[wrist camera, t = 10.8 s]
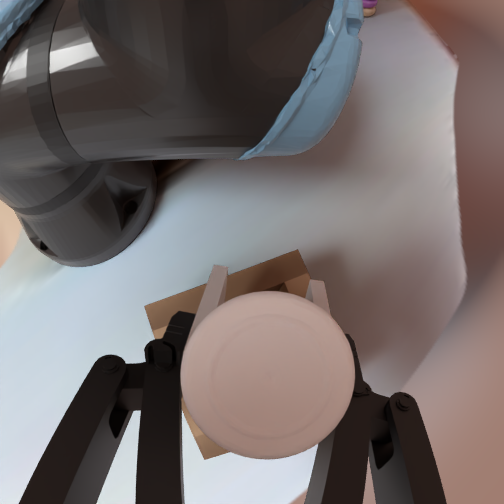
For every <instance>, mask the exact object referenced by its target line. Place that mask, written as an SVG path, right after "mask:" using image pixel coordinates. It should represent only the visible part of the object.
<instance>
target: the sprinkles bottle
mask: <svg viewBox="0 0 504 504" xmlns="http://www.w3.org/2000/svg"><path fill="white" fill-rule="evenodd" d="M180 375H181V388H182V395H183V398H184V401H185V404H186V407H187V409H188V411H189V413H190V415H191V417H192V419H193V420H194V422H195V423H196V424H197V426H198V427H199V428H200V430H201V431H202V432H203V433H204V434H205V435H206V436H207V437H208V438H209V439H211V440H212V441H213V442H215V443H216V444H217V445H219V446H221V447H222V448H224V449H226V450H228V451H230V452H232V453H235V454H237V455H241V456H244V457H249V458H255V459H279V458H284V457H289V456H292V455H296V454H298V453H301V452H304V451H306V450H307V449H310V448H311V447H313V446H315V445H316V444H318V443H319V442H321V441H322V440H323V439H324V438H326V437H327V436H328V435H329V434H330V433H331V432H332V431H333V430H334V428H335V427H336V426H337V425H338V423H339V422H340V420H341V419H342V418H343V416H344V414H345V412H346V410H347V408H348V406H349V404H350V400H351V398H352V394H353V390H354V382H355V366H354V359H353V354H352V351H351V347H350V344H349V342H348V340H347V338H346V336H345V334H344V333H343V331H342V329H341V328H340V327H339V325H338V324H337V323H336V321H335V320H334V319H333V318H332V317H331V316H330V315H329V314H328V313H327V312H326V311H325V310H323V309H322V308H321V307H319V306H318V305H316V304H314V303H313V302H311V301H309V300H307V299H305V298H303V297H300V296H297V295H294V294H290V293H285V292H279V291H260V292H253V293H248V294H245V295H240V296H238V297H235V298H233V299H230V300H228V301H227V302H225V303H223V304H222V305H220V306H218V307H217V308H216V309H214V310H213V311H212V312H210V313H209V314H208V315H207V316H206V317H205V318H204V319H203V320H202V321H201V322H200V324H199V325H198V326H197V327H196V329H195V330H194V332H193V333H192V335H191V337H190V339H189V341H188V343H187V345H186V348H185V351H184V355H183V358H182V364H181V373H180Z"/></svg>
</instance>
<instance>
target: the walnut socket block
mask: <svg viewBox="0 0 504 504" xmlns="http://www.w3.org/2000/svg"><path fill="white" fill-rule="evenodd" d="M310 279H311V278H310V275H309V273H308V271H307V269H306V266H305V264H304V262H303V260H302V258H301V255H300V253H299V251H298V249H297V250H295V251H292V252H289V253H287V254H284V255H282V256H279V257H276V258H274V259H271V260H268V261H266V262H263V263H260V264H258V265H255V266H252V267H250V268H247V269H244V270H241V271H239V272H236V273H233V274H231V275H228V276H227V284H226V293H225V302H227V301H228V300H230V299H233V298H235V297H238V296H240V295H245V294H248V293H253V292H260V291H279V292H285V293H290V294H294V295H297V296H300V297H303V298H305V297H306V293H307V289H308V285H309V282H310ZM206 285H207V283H206V284H204V285H201V286H198V287H195V288H193V289H190V290H187V291H184V292H182V293H179V294H176V295H173V296H171V297H168V298H165V299H162V300H160V301H157V302H154V303H151V304H149V305H146V306H144V307H145V310H146V313H147V316H148V319H149V322H150V325H151V328H152V331H153V334H154V337H155V339H161V338H163V335H164V333H165V332H166V328H167V326H168V324H169V322H170V319H171V317H172V316H173V315H174V314H176V313H177V312H178V311H183V312H189V313H194V314H196V313H197V311H198V308H199V305H200V302H201V299H202V297H203V294H204V291H205V288H206ZM181 401H182V411H183V413H184V416H185V418H186V420H187V423H188V425H189V427H190V429H191V432H192V434H193V436H194V438H195V440H196V443H197V445H198V447H199V449H200V451H201V453H202V455H203V458H204V460H206V459H209V458H212V457H216V456H219V455H222V454H225V453H228V452H230V451H228V450H226V449H224V448H222V447H221V446H219V445H217V444H216V443H215V442H213V441H212V440H211V439H209V438H208V437H207V436H206V435H205V434H204V433H203V432H202V431H201V430H200V428H199V427H198V426H197V424H196V423H195V422H194V420H193V419H192V417H191V415H190V413H189V411H188V409H187V407H186V404H185V401H184V398H183V395H182V399H181Z"/></svg>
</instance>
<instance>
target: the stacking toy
mask: <svg viewBox="0 0 504 504" xmlns="http://www.w3.org/2000/svg"><path fill="white" fill-rule="evenodd" d="M362 2H363V11H364V16H371V15H373V14H374V13H375V11H376V8H375V6H376V4H377V0H362Z"/></svg>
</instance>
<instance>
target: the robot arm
mask: <svg viewBox="0 0 504 504" xmlns="http://www.w3.org/2000/svg"><path fill="white" fill-rule="evenodd" d="M363 22H364V11H363V2H362V0H0V200H2V201H3V202H4V203H6V204H7V205H8V206H9V207H11V208H12V209H13V210H14V211H15V213H16V215H17V217H18V219H19V221H20V223H21V225H22V226H23V228H24V230H25V232H26V234H27V236H28V237H29V239H30V241H31V242H32V243H33V245H34V246H35V247H36V248H37V249H38V250H39V251H40V252H41V253H43V254H44V255H46V256H47V257H49V258H51V259H52V260H54V261H56V262H58V263H60V264H63V265H66V266H71V267H86V266H92V265H95V264H98V263H101V262H104V261H106V260H108V259H110V258H112V257H113V256H115V255H117V254H118V253H119V252H121V251H122V250H123V249H125V248H126V247H127V246H128V245H129V244H130V243H131V242H132V241H133V240H134V239H135V238H136V237H137V235H138V234H139V233H140V231H141V230H142V229H143V227H144V225H145V224H146V222H147V220H148V218H149V216H150V214H151V211H152V209H153V206H154V202H155V198H156V191H157V179H156V173H155V169H154V166H153V164H152V161H151V160H160V159H233V160H247V159H250V158H252V157H260V156H290V155H296V154H299V153H303V152H305V151H307V150H309V149H311V148H312V147H313V146H315V145H316V144H318V143H319V142H320V141H321V140H322V139H323V138H324V137H325V136H326V135H327V133H328V132H329V131H330V130H331V128H332V127H333V125H334V124H335V122H336V120H337V119H338V117H339V115H340V113H341V111H342V109H343V107H344V105H345V103H346V101H347V99H348V96H349V93H350V91H351V88H352V85H353V83H354V79H355V76H356V73H357V69H358V65H359V60H360V55H361V49H362V42H361V40H360V39H359V38H358V36H357V35H358V33H359V30H360V28H361V26H362V24H363ZM227 274H228V267H225V266H219V265H214V266H213V269H212V272H211V274H210V277H209V280H208V283H207V285H206V288H205V291H204V294H203V297H202V299H201V302H200V305H199V308H198V311H197V313H196V314H194V313H189V312H183V311H178V312H177V313H176V314H174V315H173V316H172V317H171V319H170V322H169V324H168V326H167V328H166V332H165V333H164V335H163V338H161V339H155V340H152V341H150V342H149V343H148V344H147V345H146V347H145V349H144V351H145V359H146V362H143V363H137V364H126V363H125V361H124V360H123V359H122V358H121V357H119V356H117V355H105V356H102V357H100V358H99V359H98V360H97V361H96V362H95V363H94V365H93V367H92V368H91V370H90V372H89V373H88V375H87V377H86V378H85V380H84V382H83V383H82V385H81V387H80V388H79V390H78V392H77V394H76V395H75V397H74V399H73V400H72V402H71V404H70V406H69V407H68V409H67V411H66V413H65V415H64V416H63V418H62V420H61V422H60V424H59V425H58V427H57V429H56V431H55V433H54V435H53V436H52V438H51V440H50V442H49V444H48V446H47V448H46V450H45V451H44V453H43V455H42V457H41V459H40V461H39V463H38V465H37V467H36V469H35V471H34V473H33V475H32V477H31V479H30V481H29V483H28V485H27V487H26V490H25V492H24V494H23V496H22V498H21V500H20V502H19V504H96V503H97V500H98V498H99V495H100V492H101V490H102V487H103V485H104V482H105V480H106V477H107V474H108V472H109V469H110V467H111V464H112V462H113V459H114V457H115V454H116V452H117V449H118V447H119V444H120V442H121V440H122V437H123V435H124V432H125V430H126V428H127V425H128V423H129V420H130V418H131V416H132V413H133V411H135V410H141V416H140V428H139V440H138V455H137V474H136V504H185V503H184V484H183V458H182V401H181V399H182V388H181V375H180V373H181V364H182V358H183V355H184V351H185V348H186V345H187V343H188V341H189V339H190V337H191V335H192V333H193V332H194V330H195V329H196V327H197V326H198V325H199V324H200V322H201V321H202V320H203V319H204V318H205V317H206V316H207V315H208V314H209V313H210V312H212V311H213V310H214V309H216V308H217V307H218V306H220V305H222V304H223V303H225V293H226V284H227ZM305 299H307V300H309V301H311V302H313V303H314V304H316V305H318V306H319V307H321V308H322V309H323V310H325V311H326V312H327V313H328V314H329V315H330V316H331V313H330V308H329V303H328V298H327V293H326V289H325V284H324V281H319V280H312V279H310V282H309V285H308V289H307V293H306V297H305ZM345 336H346V338H347V340H348V342H349V344H350V347H351V351H352V354H353V359H354V366H355V382H354V390H353V394H352V398H351V400H350V404H349V406H348V408H347V410H346V412H345V414H344V416H343V418H342V419H341V420H340V422H339V423H338V425H337V426H336V427H335V428H334V430H333V431H332V432H331V433H330V434H329V435H328V436H327V437H326V438H324V439H323V440H322V441H321V442H319V443H318V448H317V453H316V457H315V462H314V466H313V470H312V475H311V479H310V483H309V487H308V491H307V495H306V499H305V503H304V504H362V503H363V496H364V489H365V481H366V472H367V463H368V456H369V462H370V468H371V474H372V480H373V486H374V493H375V500H376V504H447V503H446V499H445V495H444V491H443V487H442V483H441V479H440V476H439V472H438V468H437V465H436V461H435V458H434V455H433V452H432V448H431V445H430V442H429V438H428V435H427V432H426V429H425V426H424V423H423V420H422V417H421V414H420V411H419V408H418V405H417V403H416V401H415V399H414V398H413V397H412V396H410V395H409V394H407V393H403V392H397V393H394V394H393V395H392V396H391V397H390V398H388V397H385V396H382V395H378V394H376V393H374V392H372V390H371V388H370V386H369V385H368V384H367V383H366V382H364V381H363V377H362V373H361V368H360V364H359V360H358V358H357V357H358V356H357V352H356V348H355V343H354V341H353V340H352V338H351V337H350V336H349V334H345Z"/></svg>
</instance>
